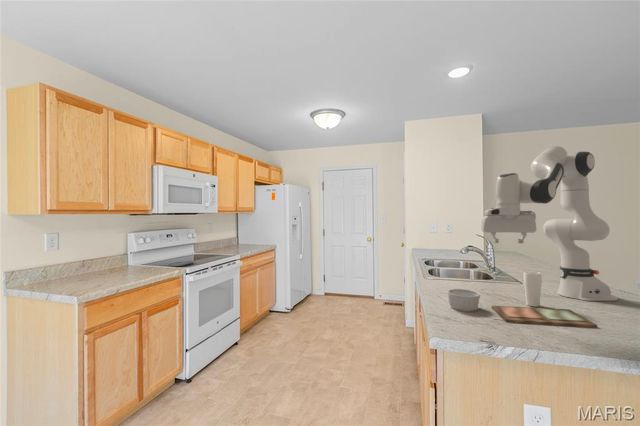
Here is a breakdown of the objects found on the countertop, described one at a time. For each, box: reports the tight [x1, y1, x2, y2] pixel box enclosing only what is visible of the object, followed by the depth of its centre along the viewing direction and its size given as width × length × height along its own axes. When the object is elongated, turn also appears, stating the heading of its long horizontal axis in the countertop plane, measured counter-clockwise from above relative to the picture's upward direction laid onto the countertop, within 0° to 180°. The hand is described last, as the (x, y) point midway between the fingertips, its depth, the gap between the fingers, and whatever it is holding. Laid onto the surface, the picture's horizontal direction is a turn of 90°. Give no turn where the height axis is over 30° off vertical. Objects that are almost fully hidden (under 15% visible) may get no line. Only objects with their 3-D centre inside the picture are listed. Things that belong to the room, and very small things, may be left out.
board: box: [491, 305, 598, 329], centre depth 122 cm, size 30×18×1 cm, turn 76°
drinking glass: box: [522, 270, 543, 308], centre depth 137 cm, size 7×7×15 cm
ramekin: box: [447, 288, 481, 312], centre depth 136 cm, size 13×13×7 cm
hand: (508, 243), depth 128 cm, fingers open, 8 cm apart
